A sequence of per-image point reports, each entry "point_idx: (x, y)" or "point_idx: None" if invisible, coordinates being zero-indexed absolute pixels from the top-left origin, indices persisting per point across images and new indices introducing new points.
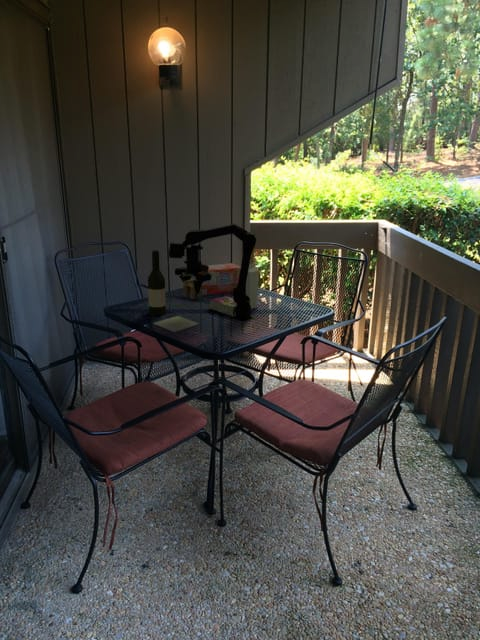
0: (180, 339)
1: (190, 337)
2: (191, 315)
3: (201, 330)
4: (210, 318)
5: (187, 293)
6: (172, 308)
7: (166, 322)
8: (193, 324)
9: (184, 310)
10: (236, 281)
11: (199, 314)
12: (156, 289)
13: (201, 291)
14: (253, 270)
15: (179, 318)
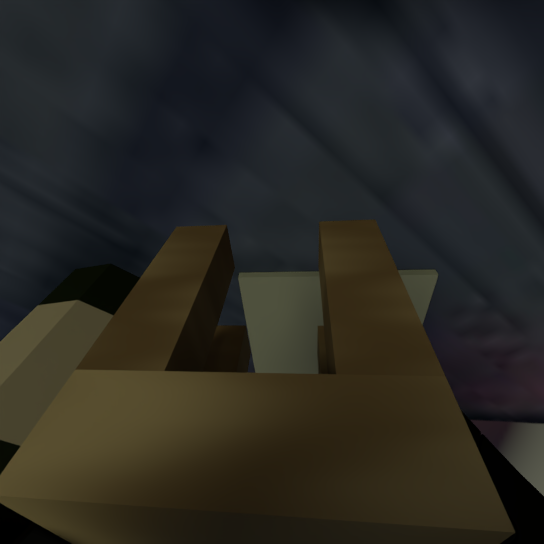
0: (474, 406)
1: (503, 381)
2: (265, 190)
3: (508, 311)
4: (434, 117)
5: (241, 365)
6: (54, 193)
7: (290, 359)
8: (423, 302)
9: (132, 154)
10: None
11: (286, 122)
12: None
13: (395, 282)
14: None
15: (284, 295)
